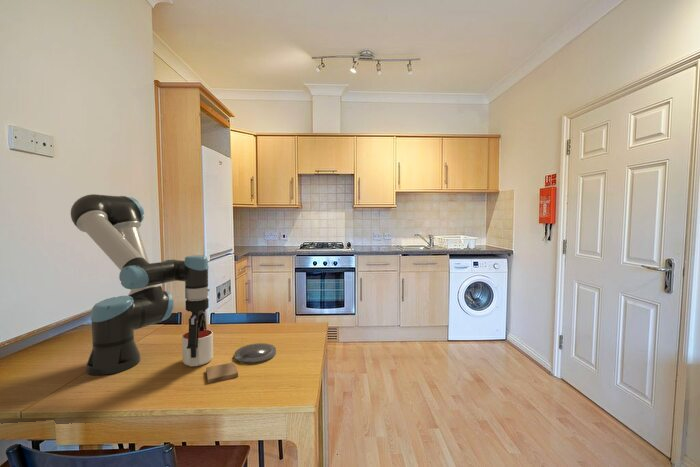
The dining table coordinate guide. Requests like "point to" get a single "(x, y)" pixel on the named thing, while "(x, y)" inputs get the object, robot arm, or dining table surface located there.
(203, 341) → the cup
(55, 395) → the dining table surface
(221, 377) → the oak coaster
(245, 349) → the grey plate
